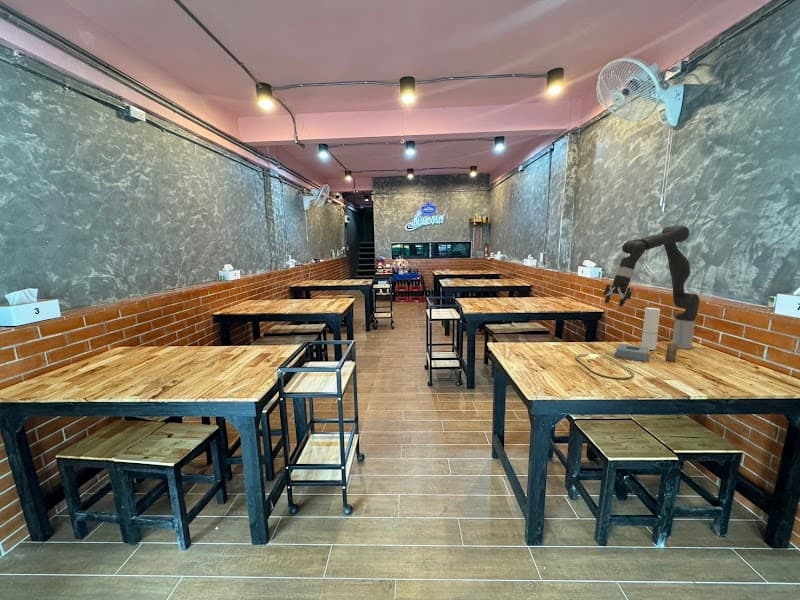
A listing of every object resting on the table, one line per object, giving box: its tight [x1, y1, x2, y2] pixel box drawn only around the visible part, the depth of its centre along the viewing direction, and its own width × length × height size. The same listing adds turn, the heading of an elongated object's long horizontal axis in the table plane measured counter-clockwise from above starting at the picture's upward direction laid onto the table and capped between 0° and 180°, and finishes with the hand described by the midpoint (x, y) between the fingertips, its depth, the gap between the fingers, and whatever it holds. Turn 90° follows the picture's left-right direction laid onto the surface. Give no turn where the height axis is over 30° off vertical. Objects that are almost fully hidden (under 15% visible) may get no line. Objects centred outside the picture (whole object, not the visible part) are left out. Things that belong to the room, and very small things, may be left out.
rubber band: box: [575, 353, 635, 380], centre depth 174 cm, size 19×35×2 cm, turn 176°
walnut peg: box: [665, 342, 678, 363], centre depth 180 cm, size 4×4×10 cm
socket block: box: [613, 343, 651, 363], centre depth 189 cm, size 16×16×5 cm
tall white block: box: [640, 307, 661, 351], centre depth 200 cm, size 7×7×25 cm
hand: (613, 304), depth 187 cm, fingers open, 8 cm apart
